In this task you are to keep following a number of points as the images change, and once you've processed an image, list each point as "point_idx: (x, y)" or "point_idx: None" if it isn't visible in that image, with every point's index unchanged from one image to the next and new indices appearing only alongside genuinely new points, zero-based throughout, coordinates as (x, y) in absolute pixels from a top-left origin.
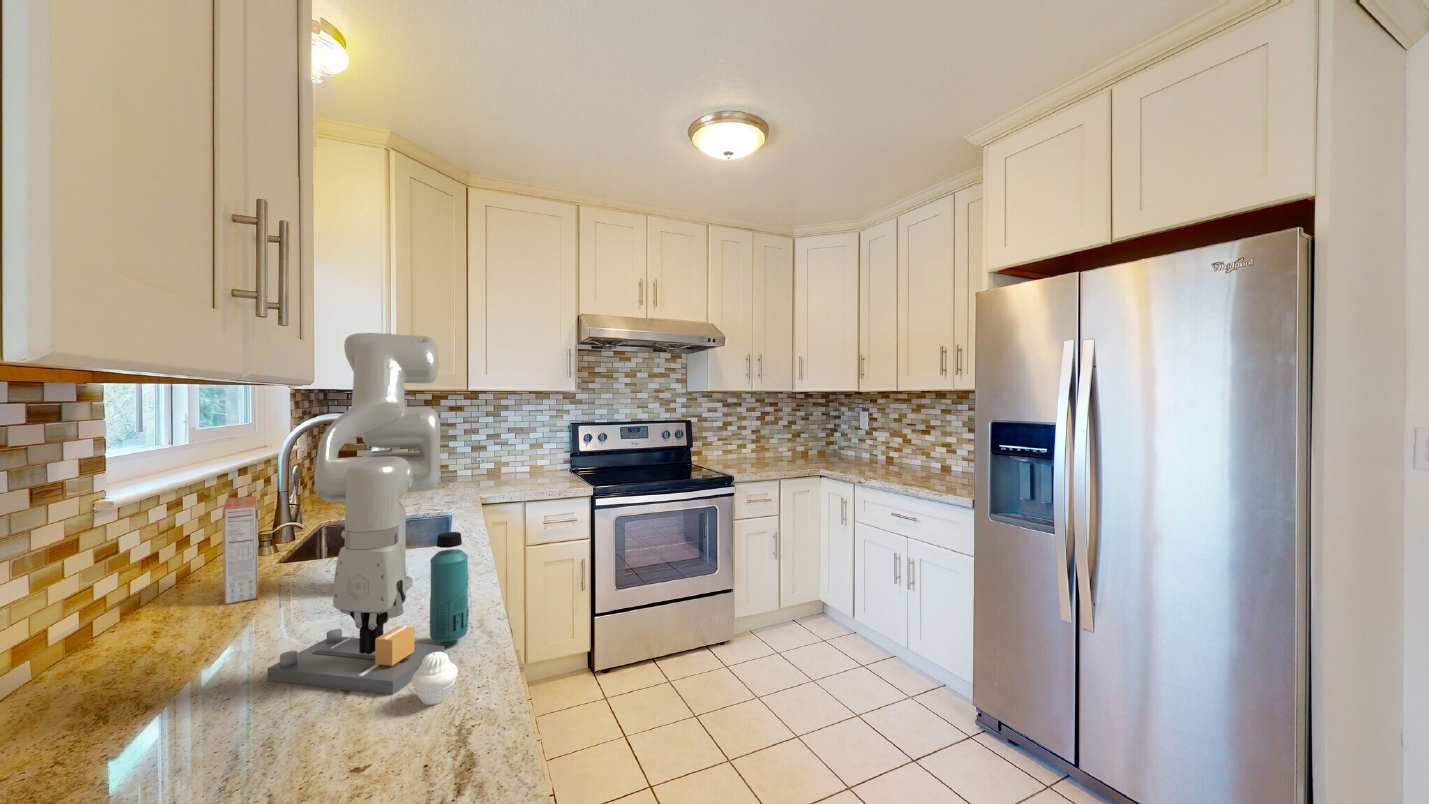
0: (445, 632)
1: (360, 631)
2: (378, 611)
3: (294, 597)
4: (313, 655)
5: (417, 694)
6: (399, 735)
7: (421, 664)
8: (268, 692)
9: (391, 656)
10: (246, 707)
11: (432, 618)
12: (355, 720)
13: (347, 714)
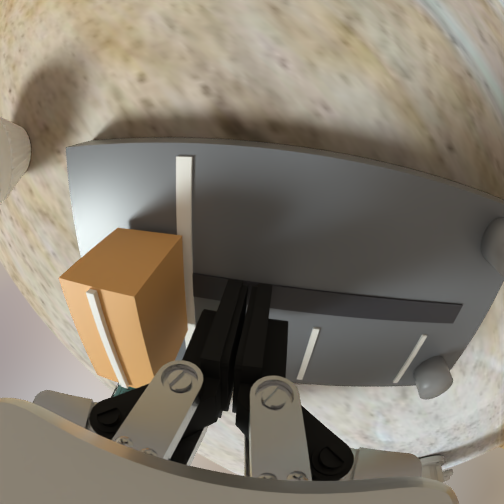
0: (129, 386)
1: (257, 358)
2: (19, 411)
3: (497, 430)
4: (455, 295)
5: (5, 119)
6: (17, 35)
7: None
8: (478, 133)
9: (102, 243)
10: (471, 55)
11: None
12: (103, 19)
13: (138, 27)
